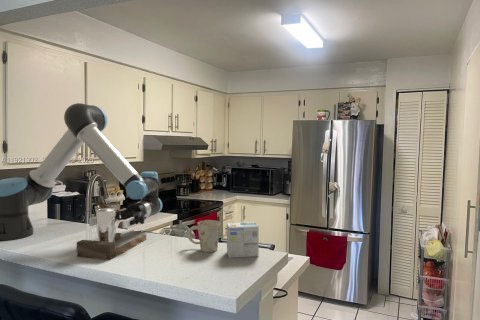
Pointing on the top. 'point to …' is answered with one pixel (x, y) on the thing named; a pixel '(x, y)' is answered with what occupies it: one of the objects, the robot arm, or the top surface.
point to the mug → (206, 235)
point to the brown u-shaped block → (105, 247)
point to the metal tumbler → (106, 224)
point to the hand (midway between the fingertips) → (106, 223)
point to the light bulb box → (242, 239)
